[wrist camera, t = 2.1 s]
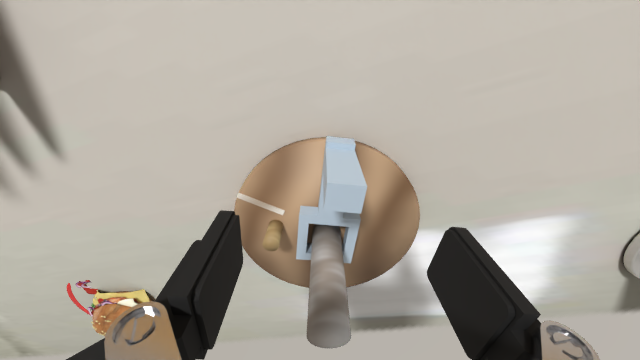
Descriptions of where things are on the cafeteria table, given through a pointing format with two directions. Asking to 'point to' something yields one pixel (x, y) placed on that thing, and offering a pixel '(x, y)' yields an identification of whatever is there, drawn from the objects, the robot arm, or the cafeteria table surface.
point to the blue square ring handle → (336, 197)
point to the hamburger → (108, 305)
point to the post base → (304, 190)
